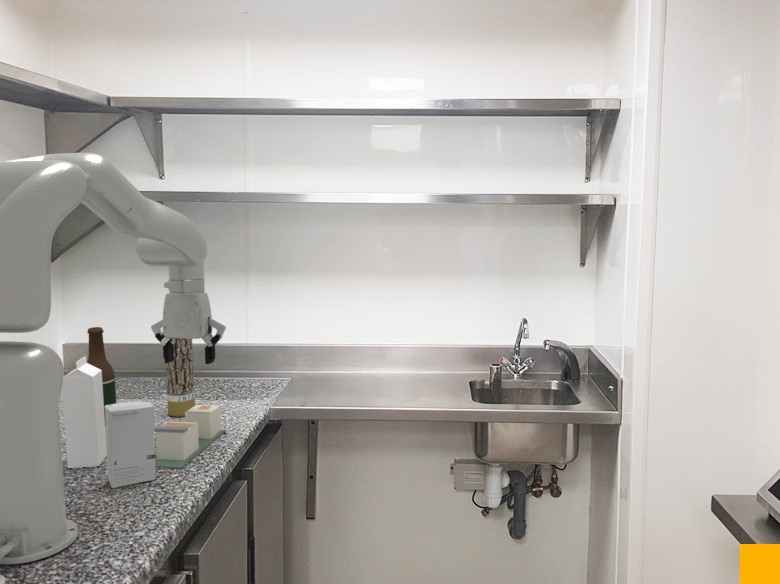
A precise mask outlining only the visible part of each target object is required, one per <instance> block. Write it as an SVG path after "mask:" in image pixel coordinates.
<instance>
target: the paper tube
mask: <svg viewBox="0 0 780 584" xmlns="http://www.w3.org/2000/svg"><path fill="white" fill-rule="evenodd" d="M171 344H173V345H174V361H172V362H169V363H165V362H164V364H165V380H166V381H165V383H166V400H167V403H166V404H167V413H168V415H169V416H171V417H175V418H181V417H182V418H183V417H185V412H186V411H188V410H189V409H191V408H192V407H194V406H196V399H195V398H196V396H195V395H196V394H195V375H194V373H195V372H194V353H193V352H194V350H193V339H178V338H174V339H173V340H172V342H171Z"/></svg>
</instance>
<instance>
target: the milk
mask: <svg viewBox="0 0 780 584" xmlns="http://www.w3.org/2000/svg"><path fill="white" fill-rule="evenodd" d="M75 365H76V368H75V369H73V370H72V371H70V372H69V373H67V374H66V375H64V376H63V384H62V390H61V392H62V403H63V405H62V406H63V419H64V434H65V450H66V462H67V464H66V466H67V469H68V468H72V469H84V468H83V467H87V468H98V467H97V466H99V467H100V466H101V464H102V463H103V462H104V460H105V459H106V458H107V457H106V456H107V454H106V426H105V417H104V401H103V384H102V370H100V369H98V368H96V367H94V366H92V365H90V364H88V363H87V356H86V355H84V356H83V357H81V358H80V359H77V361H76V362H75ZM105 457H106V458H105ZM102 461H103V462H102Z"/></svg>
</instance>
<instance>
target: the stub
mask: <svg viewBox="0 0 780 584" xmlns="http://www.w3.org/2000/svg"><path fill="white" fill-rule="evenodd" d="M221 411H222V410H221V405H213V404H212V405H211V404H210V405H209V404H205V405H203V404H195V406H194V407H192V408H191V409H189V410H188V411H186V412H185V416H184V419H185V420H184V421H196V422H198V438H203V439H211V438H212V437H214V436H215V435H216V434H217V433H219V432H220V431H221V430H222V415H221V413H222V412H221Z"/></svg>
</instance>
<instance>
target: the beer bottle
mask: <svg viewBox="0 0 780 584" xmlns="http://www.w3.org/2000/svg"><path fill="white" fill-rule="evenodd" d="M86 333H87V334H88V355H87V356H88V357H87V360H86V362H87V363H88V364H90V365H92V366H94V367H96V368H98V369H100V370H102V384H103V401H104V417H105V405H111V404H117V393H116V390H117V389H116V377H115V371H114V369H113V367H112V365H111V364H110V362H109V361H108V359H107V356H106V351H105V344H104V343H105V342H104V335H103V333H104V329H103V327H101V326H100V327H99V326H93V327H88V328H87V332H86ZM105 425H106V423H105Z"/></svg>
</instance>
